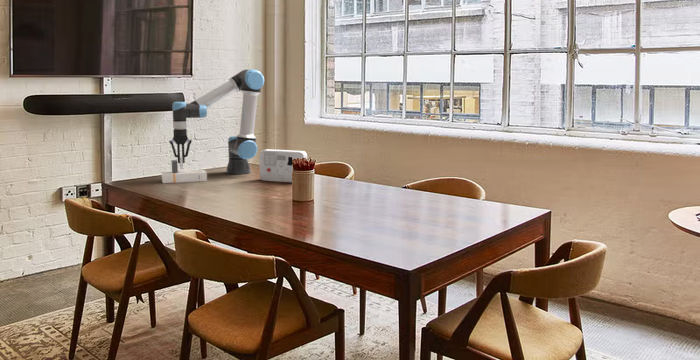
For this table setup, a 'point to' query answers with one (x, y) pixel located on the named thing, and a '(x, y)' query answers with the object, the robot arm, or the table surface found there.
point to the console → (184, 176)
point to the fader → (174, 166)
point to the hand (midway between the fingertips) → (181, 168)
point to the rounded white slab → (278, 164)
